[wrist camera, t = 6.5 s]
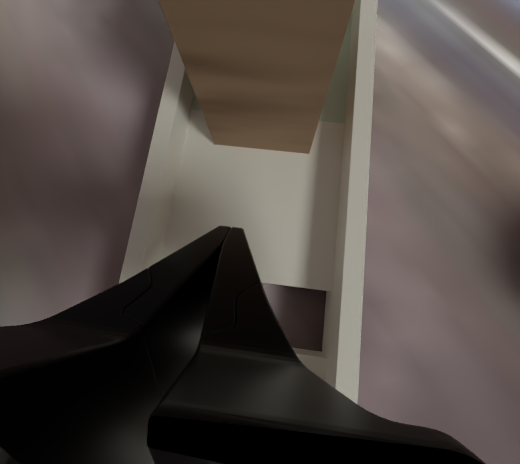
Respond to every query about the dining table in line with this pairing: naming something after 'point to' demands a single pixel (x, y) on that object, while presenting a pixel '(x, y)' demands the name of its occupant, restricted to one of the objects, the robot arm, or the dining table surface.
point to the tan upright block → (260, 65)
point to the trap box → (274, 197)
